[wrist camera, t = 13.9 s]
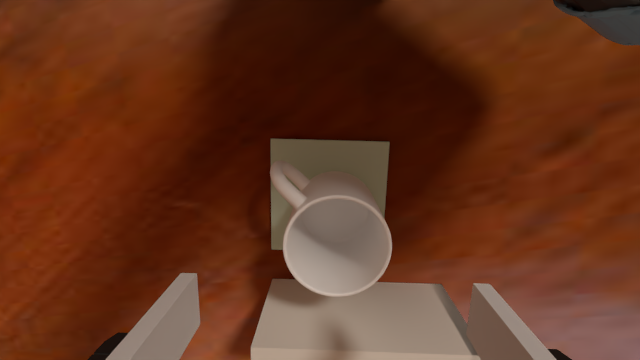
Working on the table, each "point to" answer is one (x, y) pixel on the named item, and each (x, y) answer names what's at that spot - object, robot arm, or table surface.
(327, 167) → the mat
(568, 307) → the table surface
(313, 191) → the cup
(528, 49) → the table surface
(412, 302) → the cubby
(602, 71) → the table surface
